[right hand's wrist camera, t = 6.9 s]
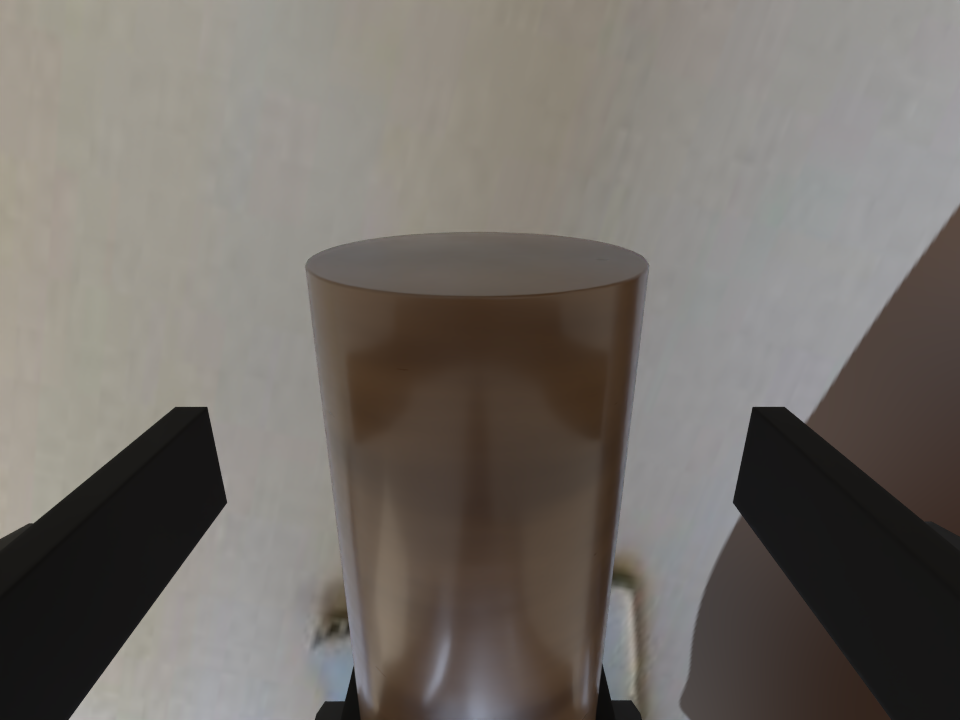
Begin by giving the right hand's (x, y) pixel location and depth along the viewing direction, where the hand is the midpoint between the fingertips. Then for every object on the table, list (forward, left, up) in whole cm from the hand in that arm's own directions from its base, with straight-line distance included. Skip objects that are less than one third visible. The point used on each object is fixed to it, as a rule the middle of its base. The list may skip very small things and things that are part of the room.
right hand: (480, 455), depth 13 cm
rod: (+6, +3, -7) cm, 10 cm away
